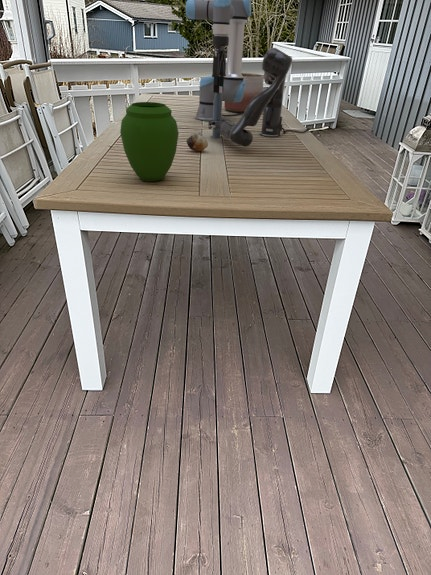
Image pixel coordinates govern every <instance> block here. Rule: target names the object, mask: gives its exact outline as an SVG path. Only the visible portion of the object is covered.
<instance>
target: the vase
mask: <svg viewBox="0 0 431 575" xmlns="http://www.w3.org/2000/svg"><path fill="white" fill-rule="evenodd" d="M125 113H126V114H125V115H124V117H122V119H121V122H120V123H121V124H120V130H119V133H120V138H121V142H122V147H123V150H124V154H125V155H126V158H127V160H128V163H129V165H130V167H131V168H132V170H133V172H134V173H135V175H136V176H137V177H138V178H139V179H141V180H143V181H145V182H159V181H161V180H163V179H164V178H165V176H166V175H167V174H168V173H169V170H170V169H171V167H172V165H173V162H174V159H175V157H176V156H175V155H176V153H177V147H178V140H179V129H178V122H177V120H176V119H175V117H174V116H173V115H172V109H171V108H170V107H169V106H167V105H166V104H164V103H162V102H155V101H138V102H132V103H131V104H130V105H128V107H127V108H125Z"/></svg>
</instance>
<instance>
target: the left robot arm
mask: <svg viewBox="0 0 431 575" xmlns="http://www.w3.org/2000/svg"><path fill="white" fill-rule="evenodd" d="M185 15H186V16H185V17H186V18H187V19H188V20H200V21H201V20H202V21H203V20H204V21H205V20H207V21H212V26H211V29H212V35H213V36H212V37H211V38H212V39H211V40H212V41H211V44H212V46H215V50H214V51H213V52H212V54H213V55H212V71H211V72H212V73H211V76H203V77H202V78H200V80H199V86H198V87H199V94H198V95H199V100H198V101H199V103H198V104H199V105H198V107H197V111H196V114H195V119H196V120H199V121H202V122H203V121H204V122H209V121H210V120H213V106H214V97H215V95H216V93H219V86H221V87H222V93H221V96H222V97H221V98H222V102H225V101H226V102H241V101H242V99H243V95H244V91H245V84H246V81H244V80H243V76H242V75H241V73H242V68H243V67H242V66H243V52H244V38H245V37H244V36H245V25H246V23H247V22H248V21H249V18H251V16H252V0H186V3H185ZM225 47H227V50H226V48H225ZM243 114H244V112H243V113H234V114H222V115H221V117H237V116H242V115H243Z"/></svg>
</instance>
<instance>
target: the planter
mask: <svg viewBox="0 0 431 575" xmlns="http://www.w3.org/2000/svg"><path fill="white" fill-rule="evenodd" d="M241 75H242V76H243V80H244V81H246V84H245V91H244V95H243V99H242V101H241V102H226V101H224V105H223V107H224V109H225V110H226V111H228V112H231V113H235V114H239V113H243V112H245V110H246V108H247V106H248V104H249V102H250V101H251V100H252V99H253V98H254V97H255V96H256V95H258V94H260V93H261V92H263V91H264V83H265V81H264V74H260V73H259V74H258V73H250V72H241Z"/></svg>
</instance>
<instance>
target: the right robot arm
mask: <svg viewBox="0 0 431 575" xmlns="http://www.w3.org/2000/svg"><path fill="white" fill-rule="evenodd" d="M292 64H293V58H292V56H291V55H289V54H287V53H286V52H284V51H283V50H281V49H279V48H277V47H271V48H269V49H268V50H267V51H266V53H265V54H264V56H263V59H262V62H261V70H262V71H263V76H264V83H265V84H266V85H268V87H267V88H265V89H263V92H261V93H260V94H258V95H256V96H255V97H254V98H253V99H252V100H251V101H250V102H249V104H248V106H247V108H246V110H245V112H244V114H242V115H241V117H240V118H239V119H238V121H237V122H236V123H235V122H233V121H231V120H229V119H227V118H221V120H220V121H213V120H210V121H208V126H207V128H208V130H211V129H213V127H214V128H215V129H217V131H218V133H219V134H221V135H220V136H222V137H224V138H226V139H228V140H229V141H230V142H232V143H233V144H236V145H238V146H241V147H243V148H246V147H247V148H248V146H251V144H252V143H253V140H254V138H253V137H254V135H253V133H252V131H250V130H248V129H246V127H256V126H257V124H258V122H259V121H260V119H261V116H262V120H261V130H260V131H261V132H260V135H261V136H264V137H268V138H275V137H281V132H283V134H284V135H285V134H286V132H292V133H299V134H304V133H307V132H309V131H310V130H309V128H305V130H303V131H302V130H301V131H300V130H293V129H285V128H284V127H283V124H282V123H283V122H282V121H283V116H282V110H283V109H282V108H283V100H284V92H285V86H286V79H287V75H288V73H289V71H290V69H291V67H292Z"/></svg>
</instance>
